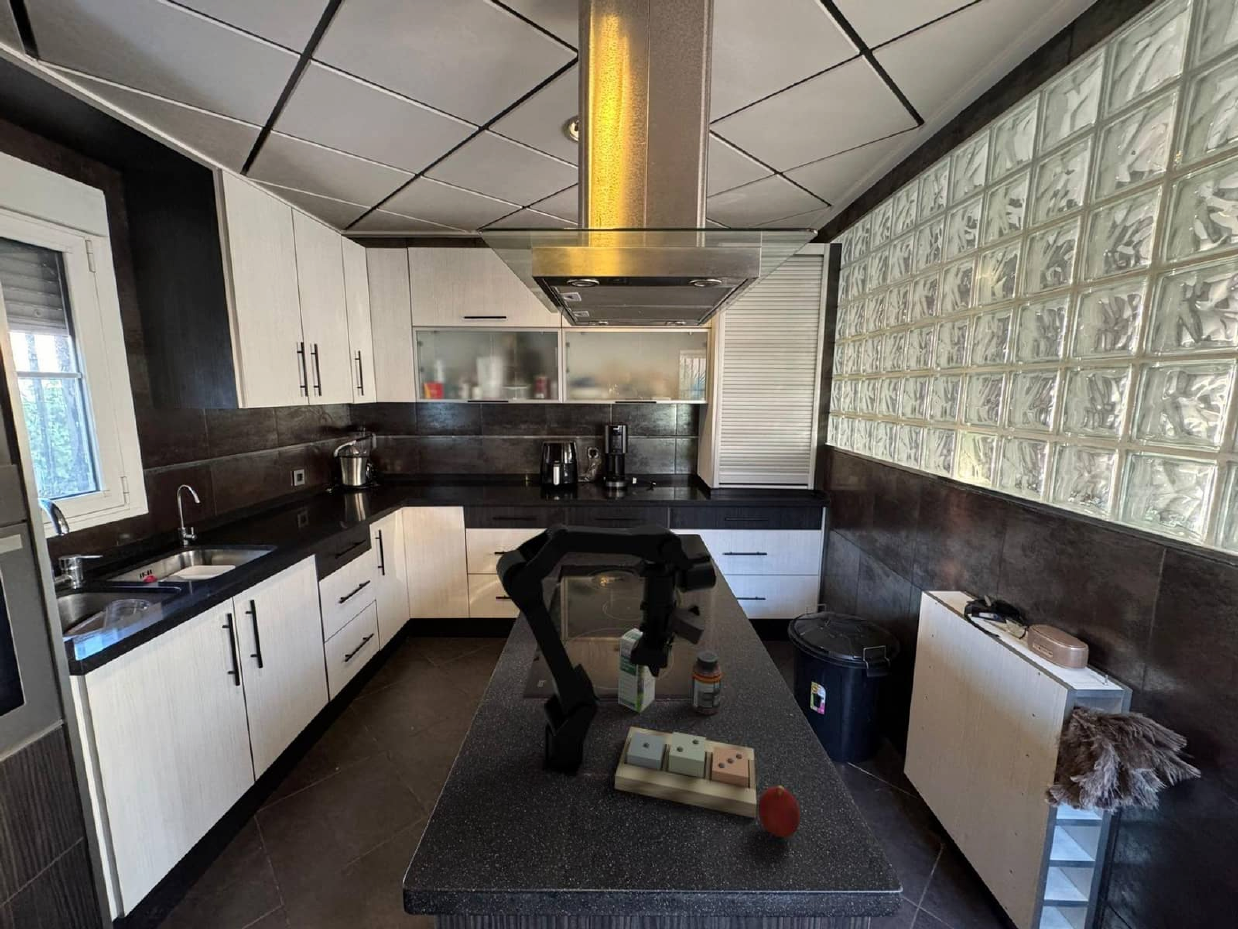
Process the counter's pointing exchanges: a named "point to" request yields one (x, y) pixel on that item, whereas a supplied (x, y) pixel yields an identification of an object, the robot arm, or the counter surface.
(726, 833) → the counter surface
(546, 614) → the robot arm
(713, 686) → the supplement bottle
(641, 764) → the single dot cube
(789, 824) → the onion
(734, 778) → the tile three pip
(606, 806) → the counter surface
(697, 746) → the tile two pip
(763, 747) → the counter surface
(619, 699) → the syrup box
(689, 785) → the tile tray
